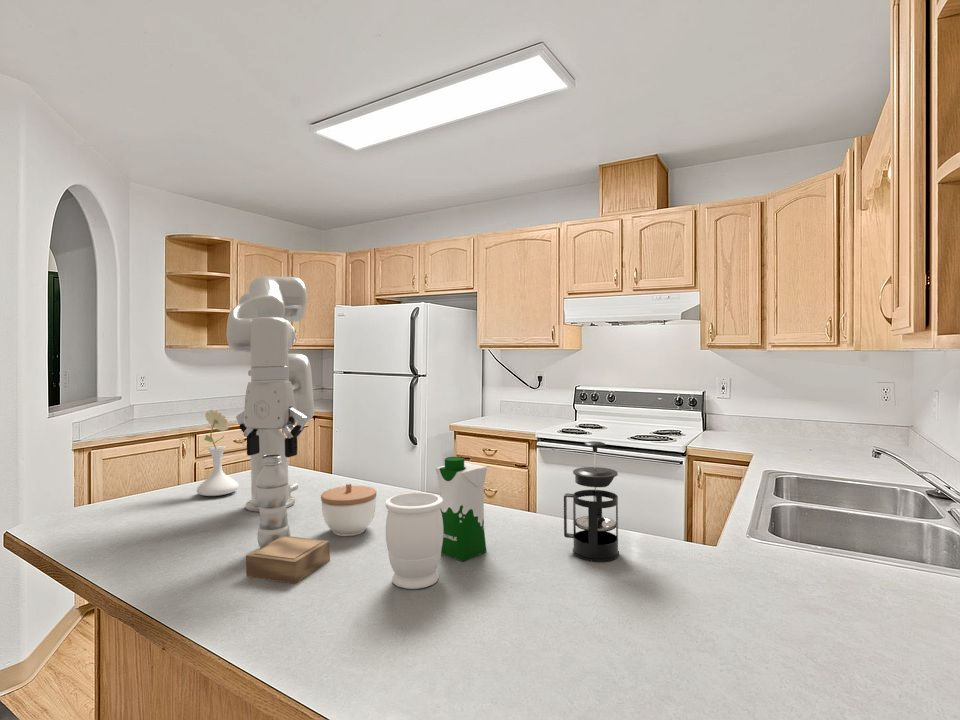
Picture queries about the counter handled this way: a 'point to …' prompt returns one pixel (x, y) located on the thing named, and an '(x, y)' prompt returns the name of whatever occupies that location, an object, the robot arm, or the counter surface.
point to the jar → (414, 538)
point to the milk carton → (462, 508)
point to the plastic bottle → (272, 500)
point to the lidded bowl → (348, 509)
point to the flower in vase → (217, 461)
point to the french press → (594, 514)
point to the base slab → (288, 559)
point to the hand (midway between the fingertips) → (272, 455)
